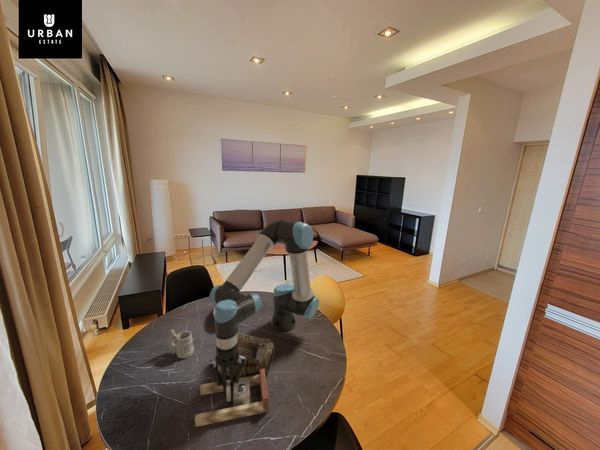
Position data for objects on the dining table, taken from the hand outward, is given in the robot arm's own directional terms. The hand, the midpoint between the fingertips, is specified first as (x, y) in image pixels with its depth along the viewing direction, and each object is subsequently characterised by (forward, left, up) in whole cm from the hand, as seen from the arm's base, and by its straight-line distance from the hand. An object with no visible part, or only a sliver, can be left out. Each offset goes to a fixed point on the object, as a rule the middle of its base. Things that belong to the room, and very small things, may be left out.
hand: (228, 398), depth 92 cm
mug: (+23, -32, -2) cm, 39 cm away
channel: (-2, 0, -2) cm, 3 cm away
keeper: (-5, 0, -2) cm, 5 cm away
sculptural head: (-7, -16, -2) cm, 18 cm away
